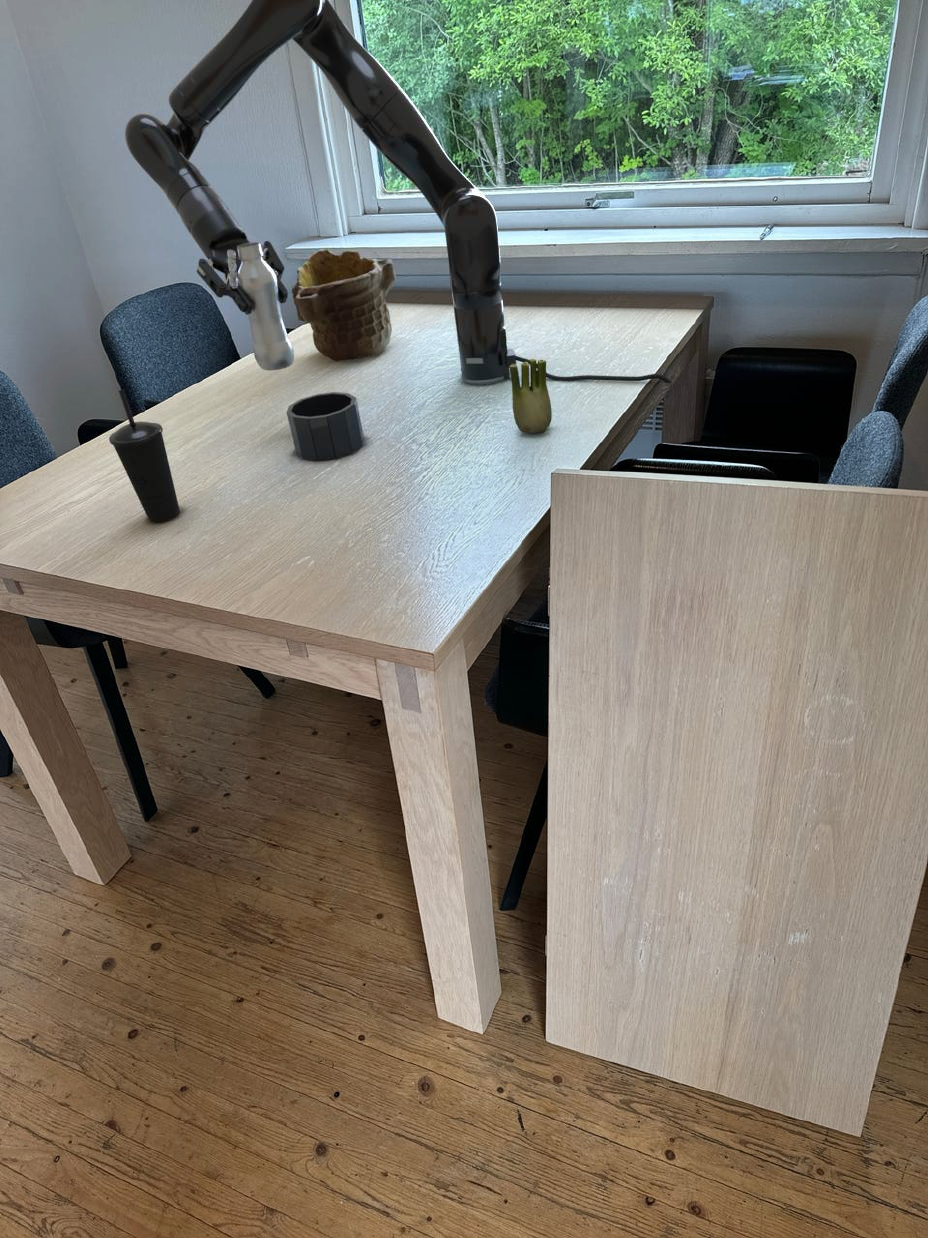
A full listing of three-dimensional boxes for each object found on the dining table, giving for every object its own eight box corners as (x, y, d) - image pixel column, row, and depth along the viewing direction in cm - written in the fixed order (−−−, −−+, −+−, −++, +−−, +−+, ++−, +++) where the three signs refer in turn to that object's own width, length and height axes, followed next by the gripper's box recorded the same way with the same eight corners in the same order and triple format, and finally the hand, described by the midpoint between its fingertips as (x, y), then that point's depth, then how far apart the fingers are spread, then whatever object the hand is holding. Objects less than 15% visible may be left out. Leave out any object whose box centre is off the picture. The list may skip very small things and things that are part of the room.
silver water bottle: (289, 374, 146) (260, 247, 135) (252, 375, 148) (220, 250, 137) (302, 361, 151) (275, 238, 140) (266, 362, 153) (237, 241, 142)
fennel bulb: (513, 436, 145) (506, 365, 138) (522, 424, 148) (516, 355, 142) (546, 437, 143) (541, 365, 136) (555, 426, 146) (550, 355, 140)
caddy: (366, 429, 155) (358, 388, 151) (360, 456, 146) (352, 413, 141) (302, 437, 156) (292, 396, 152) (292, 464, 146) (282, 421, 142)
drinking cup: (145, 507, 138) (101, 385, 127) (192, 501, 138) (153, 378, 127) (134, 530, 132) (87, 403, 121) (184, 523, 132) (141, 395, 121)
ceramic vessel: (400, 330, 175) (309, 231, 169) (332, 402, 190) (245, 314, 183) (437, 296, 192) (355, 205, 186) (371, 365, 207) (294, 283, 201)
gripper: (175, 216, 136) (234, 302, 135) (252, 197, 144) (309, 278, 143) (169, 249, 143) (226, 332, 142) (243, 230, 150) (297, 308, 149)
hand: (267, 305), depth 142 cm, fingers closed on silver water bottle, 6 cm apart
